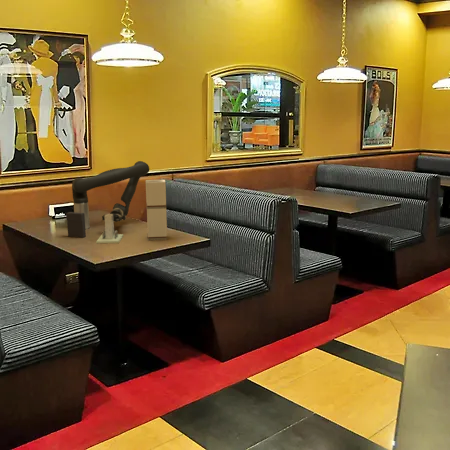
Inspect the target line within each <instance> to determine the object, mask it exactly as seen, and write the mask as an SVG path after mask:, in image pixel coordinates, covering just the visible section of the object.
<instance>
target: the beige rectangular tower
mask: <svg viewBox="0 0 450 450" xmlns="http://www.w3.org/2000/svg"><path fill="white" fill-rule="evenodd" d="M166 187H167V185H166V180H165V179H146V180H145V198H146V199H145V201H146V219H147V220H146V221H147V224H146V225H147V226H146V227H147V233H146V235H147V241H167V240H168V227H167V225H168V222H167V191H166V189H167V188H166Z"/></svg>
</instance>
